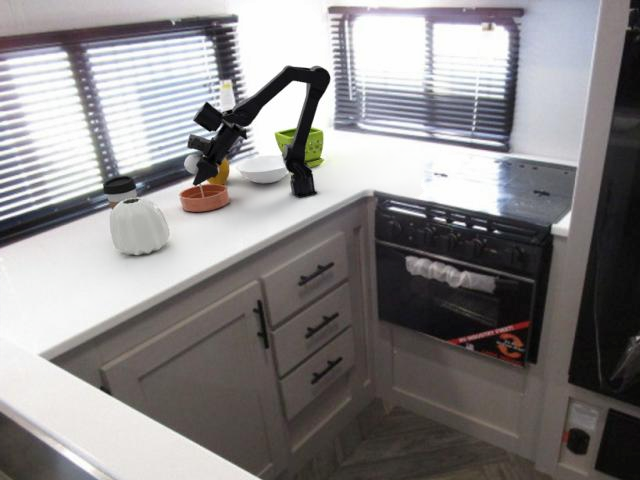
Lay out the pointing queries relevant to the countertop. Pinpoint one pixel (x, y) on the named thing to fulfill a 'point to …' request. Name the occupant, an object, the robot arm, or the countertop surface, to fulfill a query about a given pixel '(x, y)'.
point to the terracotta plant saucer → (212, 197)
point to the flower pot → (312, 150)
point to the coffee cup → (119, 189)
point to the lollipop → (193, 166)
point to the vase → (138, 226)
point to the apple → (221, 173)
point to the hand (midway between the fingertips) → (194, 182)
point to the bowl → (263, 169)
